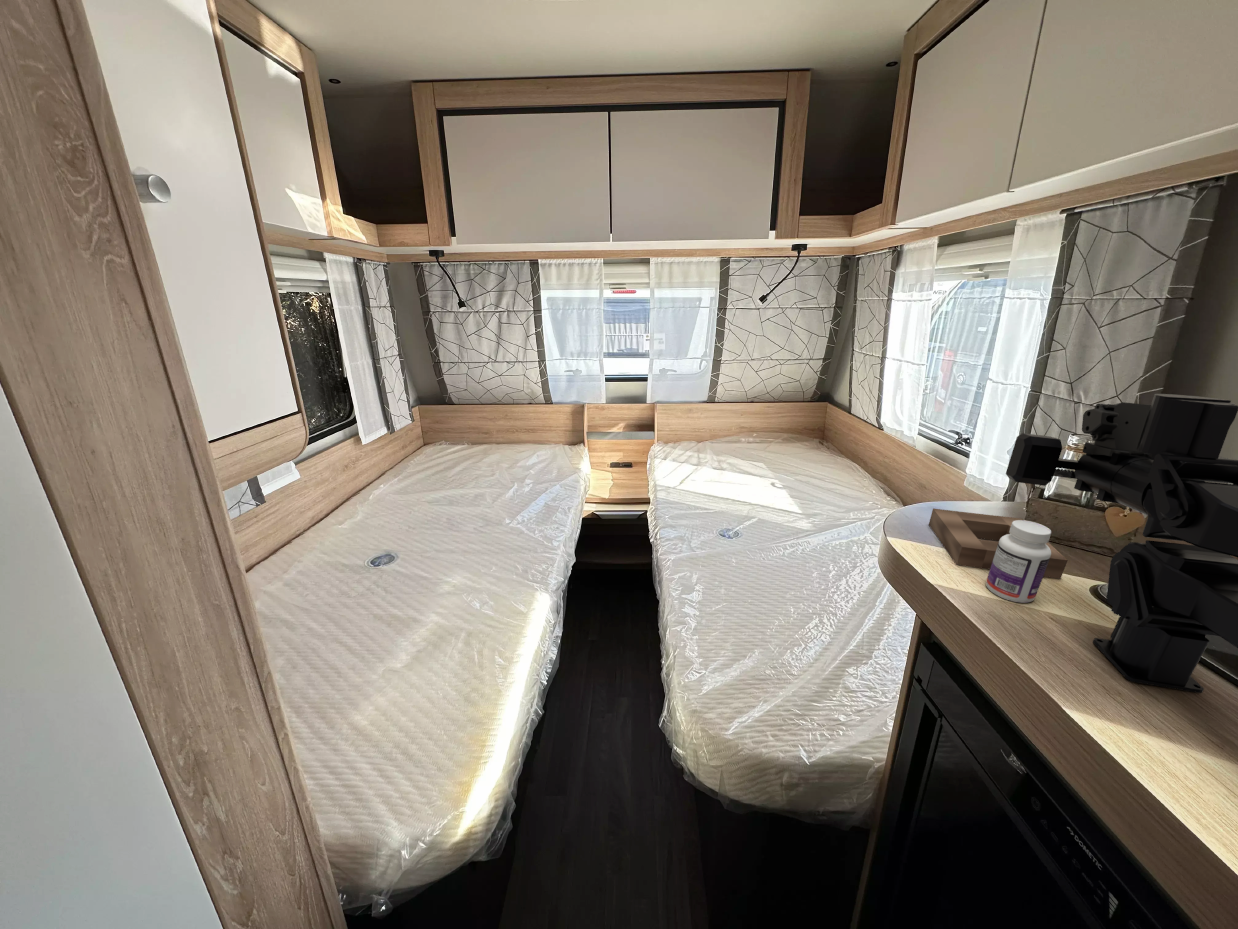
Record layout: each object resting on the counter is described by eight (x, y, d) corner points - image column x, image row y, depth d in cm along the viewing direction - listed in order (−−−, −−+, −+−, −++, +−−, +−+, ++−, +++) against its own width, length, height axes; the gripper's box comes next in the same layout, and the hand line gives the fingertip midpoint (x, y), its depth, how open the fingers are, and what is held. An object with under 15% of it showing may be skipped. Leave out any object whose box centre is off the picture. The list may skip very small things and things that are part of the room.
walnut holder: (1060, 578, 71) (1067, 560, 70) (956, 564, 74) (961, 546, 72) (1016, 535, 82) (1022, 518, 81) (928, 524, 85) (933, 508, 84)
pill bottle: (1017, 581, 70) (1040, 518, 66) (1044, 605, 65) (1070, 538, 61) (976, 578, 70) (996, 515, 67) (999, 602, 65) (1022, 535, 62)
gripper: (1270, 424, 54) (1153, 403, 68) (1071, 403, 57) (1000, 388, 72) (1226, 521, 57) (1124, 481, 72) (1040, 497, 60) (978, 463, 75)
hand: (1056, 451), depth 72 cm, fingers open, 9 cm apart
